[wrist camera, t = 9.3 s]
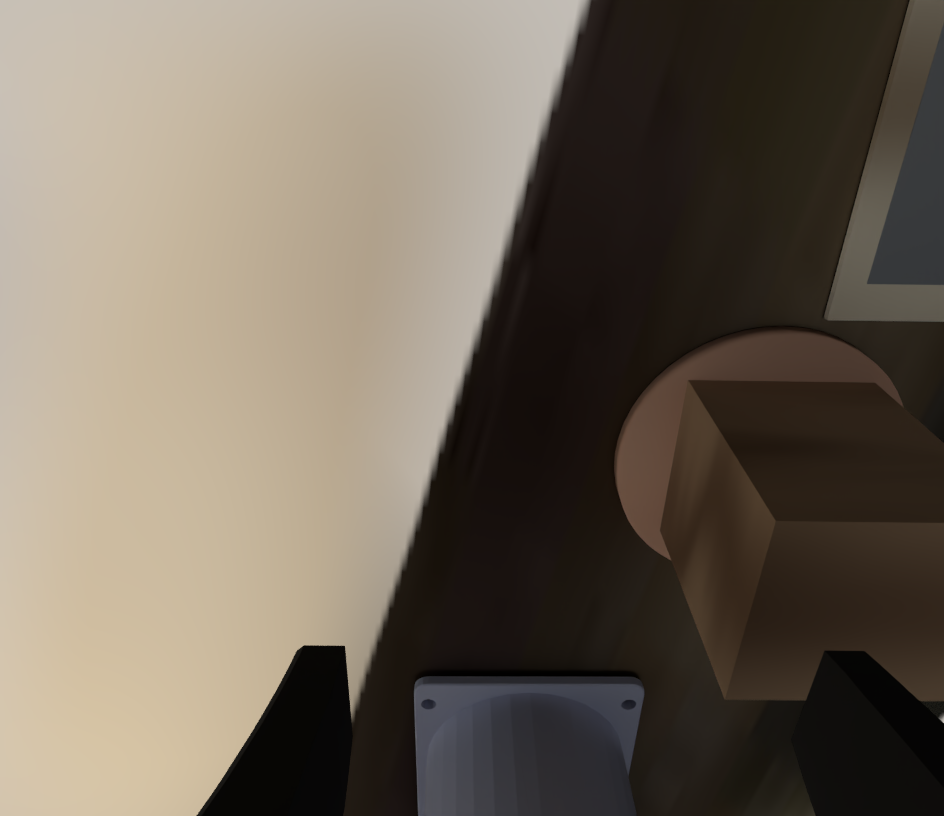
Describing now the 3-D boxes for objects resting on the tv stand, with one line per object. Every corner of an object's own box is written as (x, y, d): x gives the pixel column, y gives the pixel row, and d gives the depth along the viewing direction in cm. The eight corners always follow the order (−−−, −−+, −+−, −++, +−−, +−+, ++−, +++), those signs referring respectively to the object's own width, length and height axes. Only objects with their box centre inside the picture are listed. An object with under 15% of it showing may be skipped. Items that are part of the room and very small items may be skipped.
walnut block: (825, 531, 21) (945, 701, 16) (659, 530, 21) (725, 700, 16) (875, 382, 19) (1035, 524, 14) (687, 379, 19) (775, 521, 13)
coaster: (851, 561, 23) (860, 574, 22) (600, 560, 22) (604, 573, 22) (934, 327, 19) (947, 336, 18) (631, 324, 19) (636, 333, 18)
